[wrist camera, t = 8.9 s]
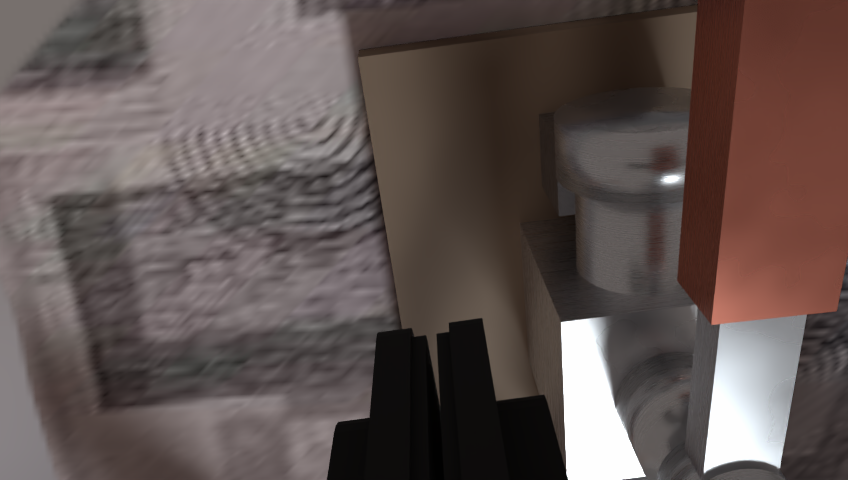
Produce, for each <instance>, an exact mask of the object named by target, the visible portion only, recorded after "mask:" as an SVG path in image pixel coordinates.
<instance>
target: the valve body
mask: <svg viewBox="0 0 848 480" xmlns="http://www.w3.org/2000/svg"><path fill="white" fill-rule="evenodd" d="M690 101H691V89H688V88H674V87H645V88H630V89H621V90H613V91H607V92H601V93H596V94H592V95H588V96H585V97H581V98H578V99H575V100H573V101H571V102H568V103H566V104H565V105H563V106H561V107H560V108H559V109H557V111H556V112H549V113H542V114H539V133H540V153H541V173H542V187H543V189H544V191H545V192H546V194H547V196H548V198H549V200H550V201H551V203H552V205H553V207H554V209H555V210H556V212H557V214H558V216H566V215H574V214H575V216H571V217H563V218H555V219H548V220H540V221H532V222H525V223H520V235H521V250H522V264H523V279H524V294H525V309H526V324H527V339H528V354H529V363H530V366H531V369H532V372H533V376H534V379H535V382H536V385H537V389H538V392H539V395H545V397H546V400H547V403H548V406H549V410H550V414H551V417H552V421H553V425H554V429H555V432H556V436H557V440H558V443H559V447H560V451H561V454H562V458H563V462H564V465H565V469H566V473H567V477H568V480H657V474H658V470H659V467H660V465H661V463H662V461H663V460H664V458H665V457H666V456H667V454H668V453H669V452H670V451H671V450H672V449H673V448H674V447H675V446H677V445H678V444H679V443H681V442H682V441H684V440H686V430H687V419H688V408H689V397H690V386H691V375H692V365H693V354H694V343H695V332H696V321H697V310H698V307H697V306H696V305H695V303H694V302H693V301H692V299H691V298H690V297H689V296H688V294H687V293H686V292H685V290H684V289H683V288H682V287H681V285H680V284H679V283H678V281H677V275H678V261H679V248H680V234H681V221H682V208H683V194H684V181H685V168H686V154H687V141H688V127H689V114H690Z"/></svg>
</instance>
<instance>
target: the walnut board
mask: <svg viewBox="0 0 848 480" xmlns="http://www.w3.org/2000/svg"><path fill="white" fill-rule="evenodd" d="M697 7H698V4H697V5H690V6H682V7H675V8H667V9H660V10H653V11H645V12H638V13H630V14H623V15H616V16H608V17H601V18H593V19H586V20H578V21H571V22H564V23H556V24H549V25H541V26H534V27H526V28H519V29H512V30H504V31H497V32H489V33H482V34H474V35H467V36H460V37H452V38H445V39H437V40H430V41H422V42H415V43H408V44H400V45H393V46H385V47H378V48H370V49H363V50H359V54H358V62H359V68H360V75H361V81H362V87H363V93H364V99H365V105H366V111H367V117H368V123H369V130H370V136H371V142H372V148H373V154H374V160H375V166H376V172H377V178H378V185H379V191H380V197H381V203H382V209H383V215H384V221H385V227H386V233H387V239H388V246H389V252H390V258H391V264H392V270H393V276H394V282H395V288H396V294H397V301H398V307H399V313H400V319H401V325H402V329H407V328H412V330H413V333H414V337H416V336H423V335H426V336H427V340H428V345H429V351H430V356H431V361H432V367H433V372H434V377H435V383H436V388H437V393H438V399H439V404H440V393H439V374H438V356H437V336H436V334H437V333H444V332H449V322H456V321H464V320H471V319H478V318H482V319H483V325H484V331H485V337H486V343H487V349H488V355H489V361H490V367H491V373H492V379H493V384H494V390H495V396H496V401H499V400H507V399H514V398H522V397H529V396H536V395H539V392H538V389H537V385H536V382H535V379H534V376H533V372H532V369H531V366H530V363H529V354H528V339H527V324H526V309H525V294H524V279H523V264H522V250H521V235H520V223H525V222H532V221H540V220H548V219H555V218H563V217H571V216H575V214H574V215H566V216H558V214H557V212H556V210H555V209H554V207H553V205H552V203H551V201H550V200H549V198H548V196H547V194H546V192H545V191H544V189H543V187H542V173H541V153H540V133H539V114H542V113H549V112H556V111H557V109H559V108H560V107H561V106H563V105H565V104H566V103H568V102H571V101H573V100H575V99H578V98H581V97H585V96H588V95H592V94H596V93H601V92H607V91H613V90H621V89H630V88H645V87H674V88H688V89H691V87H692V74H693V60H694V47H695V34H696V20H697ZM784 443H785V442H784ZM783 450H784V447H783Z"/></svg>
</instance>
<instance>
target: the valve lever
mask: <svg viewBox="0 0 848 480" xmlns="http://www.w3.org/2000/svg"><path fill="white" fill-rule="evenodd" d="M847 257H848V0H698V7H697V20H696V34H695V47H694V60H693V74H692V87H691V101H690V114H689V127H688V141H687V154H686V168H685V181H684V194H683V208H682V221H681V234H680V248H679V261H678V275H677V281H678V283H679V284H680V285H681V287H682V288H683V289H684V290H685V292H686V293H687V294H688V296H689V297H690V298H691V299H692V301H693V302H694V303H695V305H696V306H697V307H698V310H697V321H696V332H695V343H694V354H693V365H692V375H691V386H690V397H689V408H688V419H687V430H686V440H684V441H682V442H681V443H679V444H678V445H677V446H675V447H674V448H673V449H672V450H671V451H670V452H669V453H668V454H667V456H666V457H665V458H664V460H663V461H662V463H661V465H660V467H659V470H658V474H657V480H786V478H785V477H784V475H783V474H782V472H781V471H780V465H781V459H782V453H783V447H784V442H785V436H786V430H787V425H788V419H789V413H790V408H791V402H792V396H793V391H794V385H795V379H796V374H797V368H798V362H799V357H800V351H801V345H802V340H803V334H804V328H805V323H806V317H807V314H816V313H825V312H835V311H837V307H838V302H839V297H840V292H841V287H842V282H843V277H844V272H845V267H846V262H847Z"/></svg>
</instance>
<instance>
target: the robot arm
mask: <svg viewBox="0 0 848 480" xmlns="http://www.w3.org/2000/svg"><path fill="white" fill-rule="evenodd" d="M436 336H437V356H438V374H439V393H440V404H439V399H438V393H437V388H436V383H435V377H434V372H433V367H432V361H431V356H430V351H429V345H428V340H427V336H426V335H423V336H416V337H414V333H413V330H412V328H407V329H400V330H393V331H386V332H379V333H377V338H376V350H375V362H374V373H373V385H372V396H371V408H370V418H365V419H357V420H350V421H343V422H338V423H337V425H336V427H335V431H334V437H333V444H332V450H331V457H330V463H329V470H328V476H327V480H568V477H567V473H566V469H565V465H564V462H563V458H562V454H561V451H560V447H559V443H558V440H557V436H556V432H555V429H554V425H553V421H552V417H551V414H550V410H549V406H548V403H547V400H546V397H545V395H536V396H529V397H522V398H514V399H507V400H499V401H496V396H495V390H494V384H493V379H492V373H491V367H490V361H489V355H488V349H487V343H486V337H485V331H484V325H483V319H482V318H478V319H471V320H464V321H456V322H449V332H444V333H437V334H436Z"/></svg>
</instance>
